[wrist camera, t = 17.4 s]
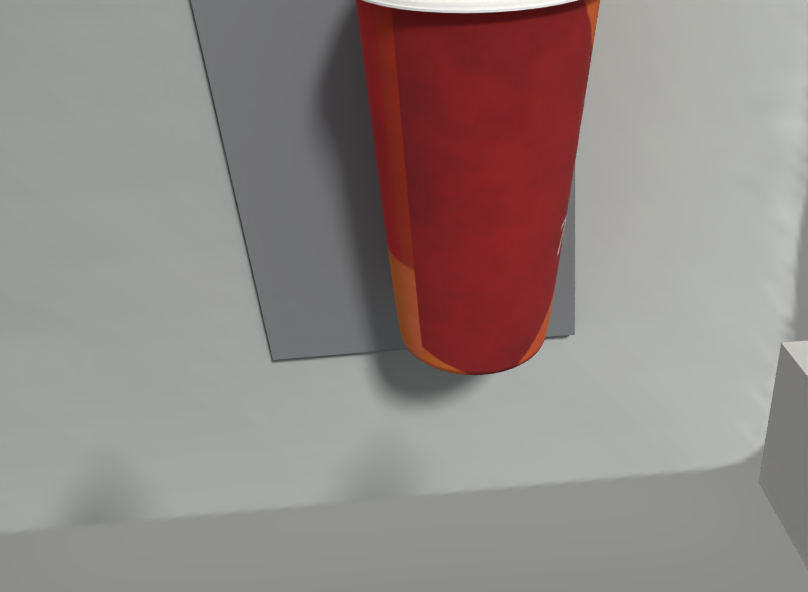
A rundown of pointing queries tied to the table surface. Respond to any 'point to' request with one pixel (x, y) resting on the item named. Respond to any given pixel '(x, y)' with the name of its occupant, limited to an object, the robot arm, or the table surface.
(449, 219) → the coffee cup
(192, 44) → the table surface
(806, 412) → the robot arm
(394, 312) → the mat
